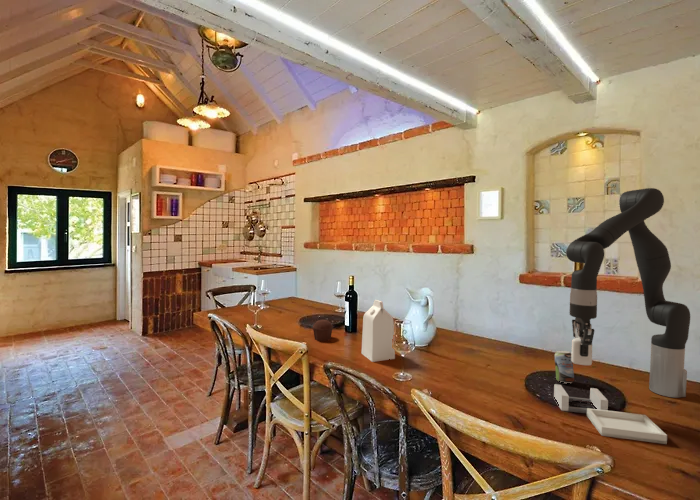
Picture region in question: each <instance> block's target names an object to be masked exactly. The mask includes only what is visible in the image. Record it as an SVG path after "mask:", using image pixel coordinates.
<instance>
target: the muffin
mask: <svg viewBox="0 0 700 500" xmlns="http://www.w3.org/2000/svg"><path fill="white" fill-rule="evenodd" d="M333 329H334V325H333V324H332V322H330V321H329V320H327V319H319V320H317V321H315V322H314V323H313V326H312V331H313V338H314V340H315V341H319V342H327V341H330V340H331V338H332V333H333Z"/></svg>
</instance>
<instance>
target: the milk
mask: <svg viewBox="0 0 700 500" xmlns="http://www.w3.org/2000/svg"><path fill="white" fill-rule="evenodd" d="M362 318H363V319H362V334H361V335H362V336H361V355H362V356H364V357H365V358H367V359H368V360H369V361H370V362H372V363H374V362H375V363H376V362H380V361H388V360H389V359H390V360H395V359H396V354H395V352H396V351H395V350H396V349H395V350H394V349H393V348H392V339H393V335H394V336H395V326H394V324H395V323H394V318H393V317H392V315H391V314H390V313H389V312H388V311H387V310H386V309H385V308H384V303H383V301H381V300H378V299H374V300H373V303H372V305H371V307H369V308H368V310H367V311H365V313H364V314H363V317H362Z"/></svg>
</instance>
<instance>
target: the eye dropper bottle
mask: <svg viewBox="0 0 700 500" xmlns="http://www.w3.org/2000/svg"><path fill="white" fill-rule="evenodd" d="M581 335H583V334H581ZM585 341H587V339H586V340H585ZM592 358H593V344H592V345H588V356H587V357H584V356H581V355H580V338H579V337H578V338H575V337H573V339H572V340H571V361H572V362H573V365H574V364H575V365H581V366H592V363H593V359H592Z"/></svg>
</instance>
